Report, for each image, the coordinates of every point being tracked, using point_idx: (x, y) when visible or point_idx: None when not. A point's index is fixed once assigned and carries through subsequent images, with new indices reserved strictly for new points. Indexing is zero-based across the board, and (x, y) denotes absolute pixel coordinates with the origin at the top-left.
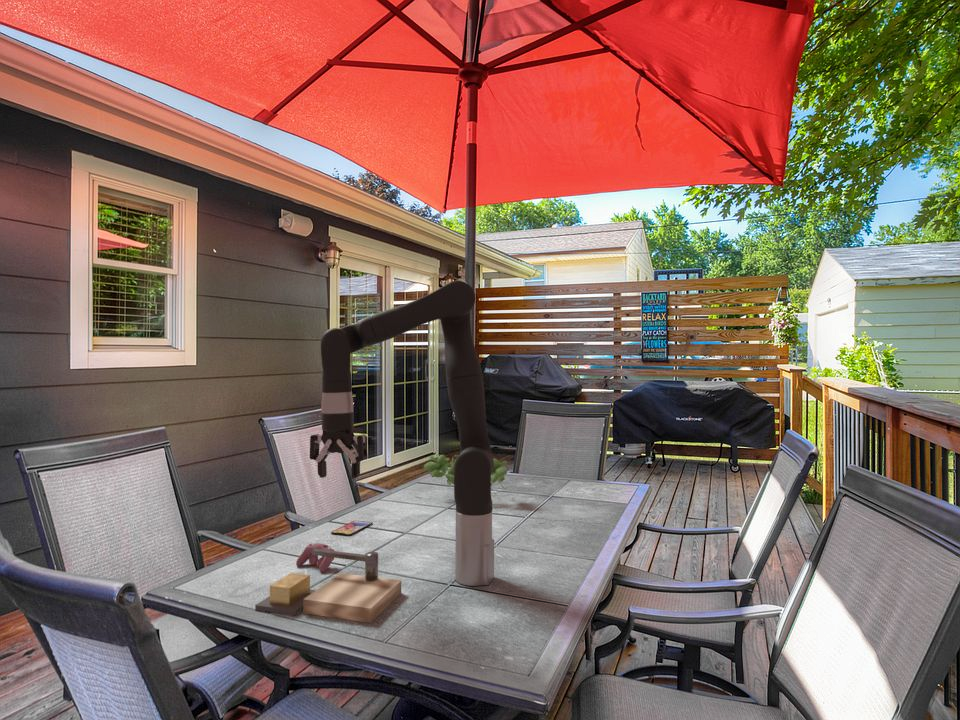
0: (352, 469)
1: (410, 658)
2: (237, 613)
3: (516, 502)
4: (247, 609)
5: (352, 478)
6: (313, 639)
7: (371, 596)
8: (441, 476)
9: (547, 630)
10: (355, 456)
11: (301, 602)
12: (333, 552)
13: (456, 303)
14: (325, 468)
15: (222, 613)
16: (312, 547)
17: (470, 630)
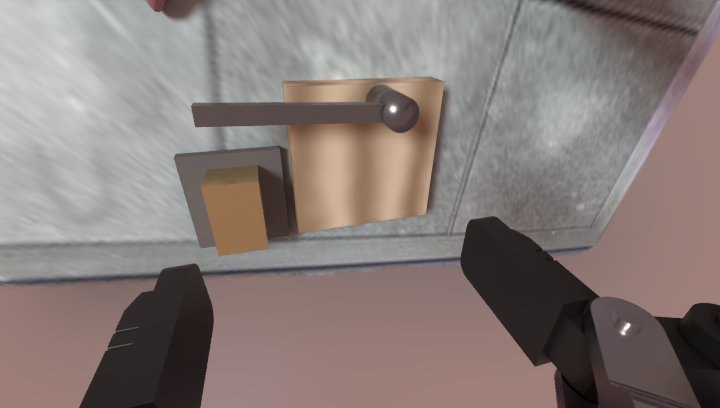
0: (507, 317)
1: None
2: (183, 263)
3: None
4: (185, 247)
5: (463, 261)
6: (360, 266)
7: (411, 176)
8: None
9: (638, 131)
10: (625, 372)
11: (276, 207)
12: (275, 118)
13: None
14: (182, 332)
15: (157, 274)
16: None
17: (548, 168)
